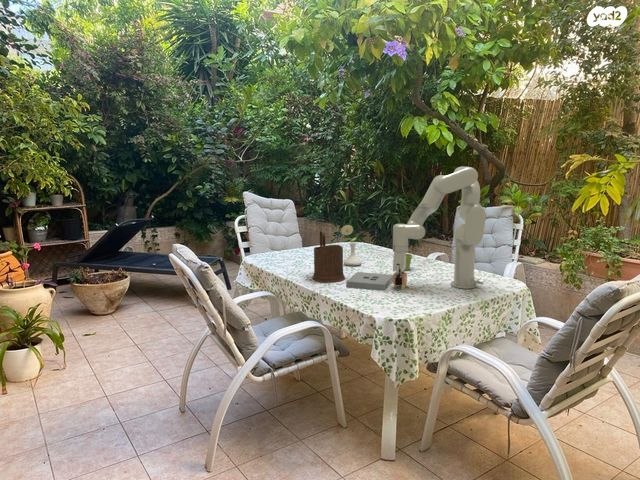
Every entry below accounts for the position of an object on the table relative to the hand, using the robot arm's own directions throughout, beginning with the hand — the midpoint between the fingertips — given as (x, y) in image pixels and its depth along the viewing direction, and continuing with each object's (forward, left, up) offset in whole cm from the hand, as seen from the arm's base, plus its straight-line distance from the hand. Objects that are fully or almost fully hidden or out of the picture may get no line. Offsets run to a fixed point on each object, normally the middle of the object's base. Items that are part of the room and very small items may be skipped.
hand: (399, 283), depth 225 cm
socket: (+16, -2, -2) cm, 16 cm away
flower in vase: (+38, -39, -2) cm, 55 cm away
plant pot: (+5, -37, -2) cm, 37 cm away
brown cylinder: (+42, -7, -2) cm, 43 cm away
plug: (0, 0, -2) cm, 2 cm away
